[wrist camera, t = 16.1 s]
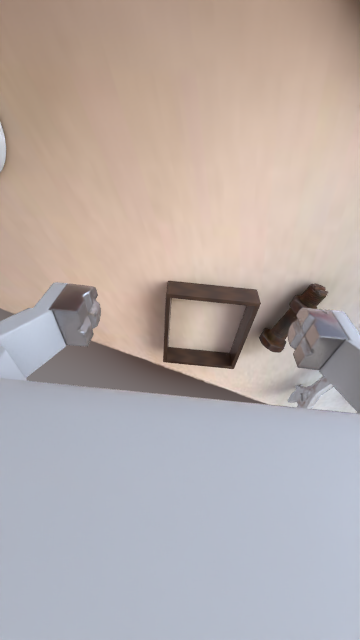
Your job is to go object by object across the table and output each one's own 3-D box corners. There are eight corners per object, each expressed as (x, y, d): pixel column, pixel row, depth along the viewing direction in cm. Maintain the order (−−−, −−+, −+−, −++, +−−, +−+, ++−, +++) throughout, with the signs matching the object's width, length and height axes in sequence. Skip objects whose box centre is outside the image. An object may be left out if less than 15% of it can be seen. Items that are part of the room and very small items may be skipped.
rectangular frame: (165, 348, 58) (163, 362, 55) (168, 280, 44) (166, 293, 41) (232, 355, 58) (233, 369, 55) (256, 289, 44) (260, 303, 41)
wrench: (375, 327, 52) (286, 398, 69) (369, 324, 51) (281, 397, 68) (402, 353, 45) (296, 425, 62) (396, 350, 45) (291, 423, 62)
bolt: (316, 277, 43) (269, 331, 53) (300, 277, 40) (253, 333, 50) (341, 298, 40) (286, 351, 49) (326, 299, 37) (271, 355, 47)
